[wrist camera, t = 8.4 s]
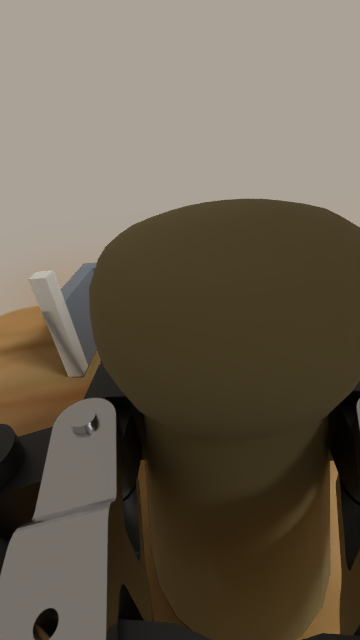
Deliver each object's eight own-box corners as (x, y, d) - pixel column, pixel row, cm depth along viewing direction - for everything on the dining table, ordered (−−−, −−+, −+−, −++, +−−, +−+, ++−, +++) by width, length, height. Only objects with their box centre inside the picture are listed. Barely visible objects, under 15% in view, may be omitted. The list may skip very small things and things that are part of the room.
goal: (351, 305, 23) (372, 210, 20) (400, 366, 17) (442, 247, 14) (100, 319, 26) (75, 237, 22) (68, 376, 20) (27, 279, 16)
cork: (167, 450, 14) (110, 193, 8) (308, 457, 13) (358, 167, 7) (131, 636, 9) (-85, 307, 3) (358, 674, 8) (676, 278, 2)
